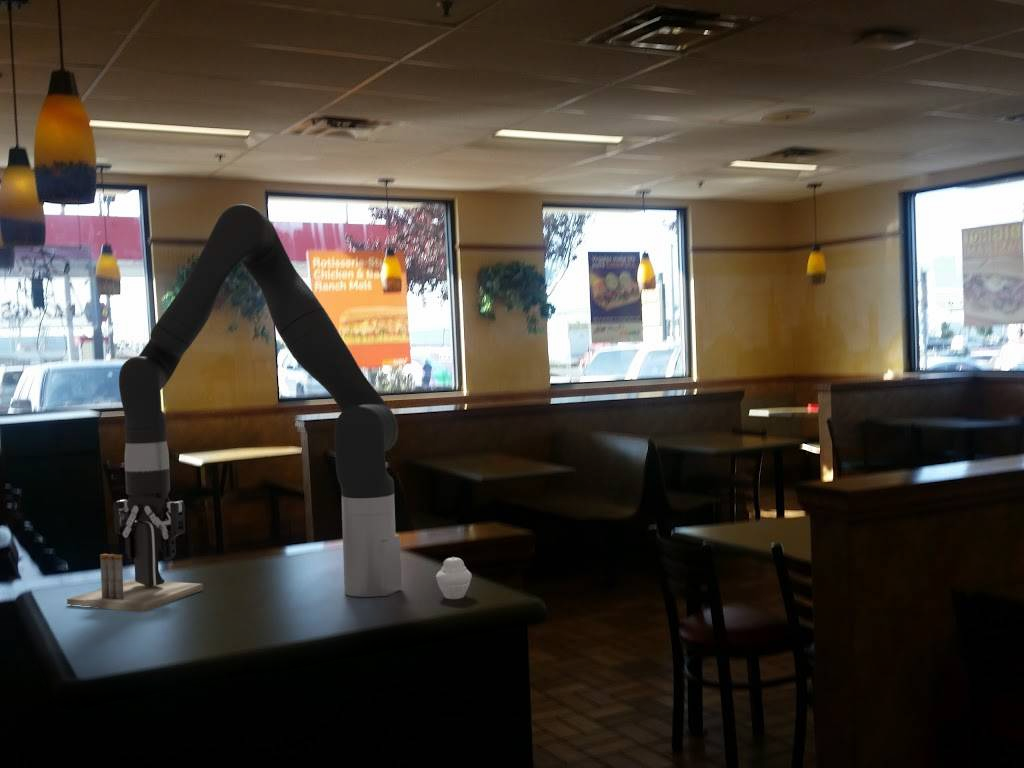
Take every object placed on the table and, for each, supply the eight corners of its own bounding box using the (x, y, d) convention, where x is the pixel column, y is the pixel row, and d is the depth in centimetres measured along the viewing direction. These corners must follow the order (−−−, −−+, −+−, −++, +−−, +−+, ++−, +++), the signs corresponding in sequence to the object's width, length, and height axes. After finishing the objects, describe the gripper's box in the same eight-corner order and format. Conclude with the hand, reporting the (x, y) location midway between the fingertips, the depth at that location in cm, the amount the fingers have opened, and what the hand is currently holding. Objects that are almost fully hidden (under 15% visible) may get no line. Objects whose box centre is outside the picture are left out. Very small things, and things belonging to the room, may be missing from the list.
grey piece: (467, 601, 174) (466, 560, 174) (432, 600, 176) (431, 559, 176) (476, 593, 181) (474, 553, 180) (441, 592, 182) (440, 552, 182)
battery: (171, 584, 186) (168, 520, 186) (150, 588, 183) (147, 523, 183) (154, 579, 191) (151, 517, 191) (134, 582, 189) (131, 519, 188)
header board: (202, 590, 189) (201, 542, 188) (143, 611, 173) (141, 559, 173) (130, 585, 194) (129, 538, 194) (67, 606, 179) (65, 555, 179)
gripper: (193, 465, 188) (197, 556, 188) (129, 464, 193) (132, 553, 193) (166, 470, 181) (170, 564, 181) (100, 469, 186) (103, 560, 186)
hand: (150, 558), depth 187 cm, fingers closed on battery, 7 cm apart
